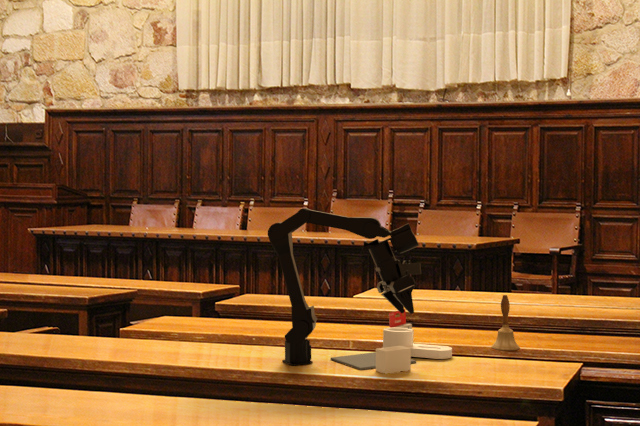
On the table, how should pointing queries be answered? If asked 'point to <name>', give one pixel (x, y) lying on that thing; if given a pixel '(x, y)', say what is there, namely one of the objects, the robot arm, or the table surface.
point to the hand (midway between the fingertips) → (407, 313)
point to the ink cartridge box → (398, 320)
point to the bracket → (417, 350)
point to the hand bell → (505, 330)
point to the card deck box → (393, 359)
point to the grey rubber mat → (360, 360)
